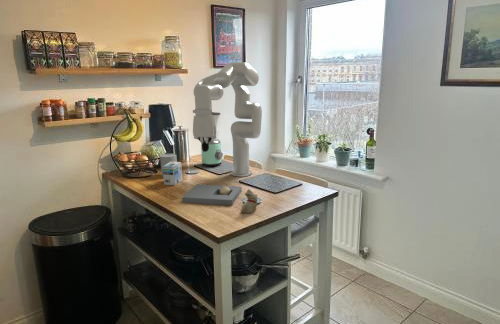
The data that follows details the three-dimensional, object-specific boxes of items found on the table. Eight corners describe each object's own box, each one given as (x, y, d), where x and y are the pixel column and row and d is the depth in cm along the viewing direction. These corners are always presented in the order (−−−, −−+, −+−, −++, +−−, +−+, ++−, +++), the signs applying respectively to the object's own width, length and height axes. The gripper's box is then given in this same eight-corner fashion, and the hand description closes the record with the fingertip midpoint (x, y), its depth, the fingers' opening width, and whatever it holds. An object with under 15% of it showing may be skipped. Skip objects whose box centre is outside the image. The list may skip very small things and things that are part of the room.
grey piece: (181, 174, 209) (179, 154, 206) (169, 178, 201) (168, 157, 198) (169, 172, 214) (168, 152, 211) (158, 176, 206) (156, 155, 203)
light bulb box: (175, 185, 188) (173, 166, 185) (163, 185, 189) (162, 165, 187) (182, 179, 198) (181, 161, 196) (171, 179, 199) (170, 161, 197)
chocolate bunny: (259, 212, 150) (259, 190, 147) (241, 213, 149) (240, 191, 146) (257, 207, 155) (256, 186, 153) (239, 209, 154) (239, 187, 152)
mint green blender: (228, 164, 231) (226, 111, 223) (215, 168, 221) (213, 113, 212) (206, 160, 242) (204, 110, 233) (193, 164, 231) (190, 112, 222)
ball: (228, 183, 172) (232, 192, 172) (219, 187, 172) (223, 196, 173) (227, 185, 167) (231, 195, 167) (217, 189, 167) (221, 199, 168)
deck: (197, 188, 182) (196, 184, 181) (241, 191, 177) (241, 186, 177) (182, 202, 163) (182, 197, 162) (232, 205, 158) (232, 200, 158)
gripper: (185, 113, 159) (187, 152, 163) (217, 113, 156) (218, 153, 160) (191, 111, 166) (193, 149, 170) (221, 111, 163) (222, 149, 167)
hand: (205, 151), depth 165 cm, fingers closed
